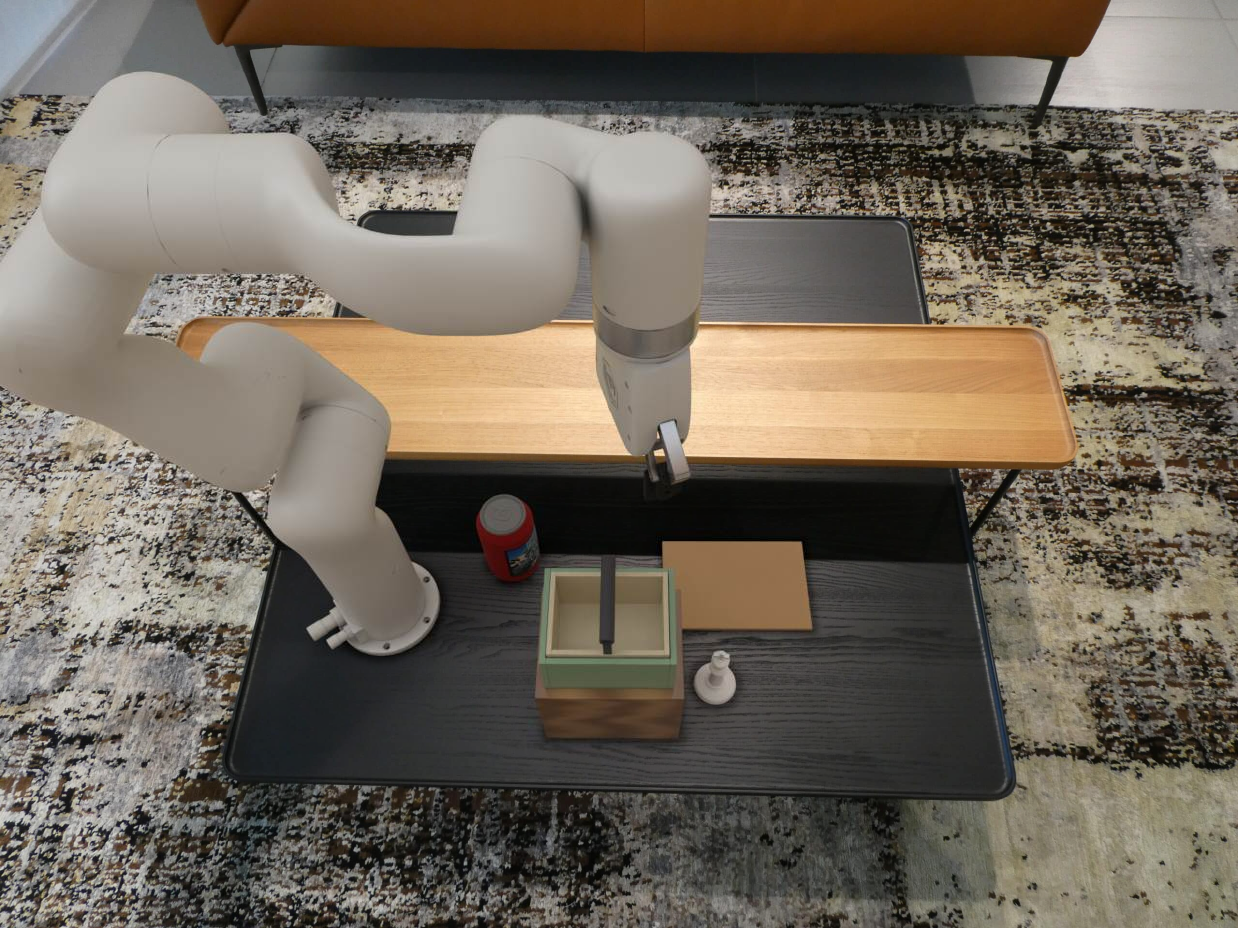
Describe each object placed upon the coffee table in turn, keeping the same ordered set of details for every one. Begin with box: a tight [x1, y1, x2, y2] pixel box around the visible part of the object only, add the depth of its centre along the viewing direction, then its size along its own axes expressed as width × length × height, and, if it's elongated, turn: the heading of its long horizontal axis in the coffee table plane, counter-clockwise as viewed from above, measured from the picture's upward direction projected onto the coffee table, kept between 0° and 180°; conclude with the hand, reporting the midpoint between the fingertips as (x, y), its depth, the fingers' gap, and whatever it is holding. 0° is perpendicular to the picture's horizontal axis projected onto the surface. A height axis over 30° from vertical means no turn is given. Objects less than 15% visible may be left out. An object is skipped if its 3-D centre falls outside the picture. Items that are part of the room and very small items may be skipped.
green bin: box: [539, 567, 677, 689], centre depth 84 cm, size 13×10×7 cm
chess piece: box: [693, 650, 737, 705], centre depth 95 cm, size 5×5×10 cm
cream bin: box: [546, 554, 670, 659], centre depth 82 cm, size 12×9×11 cm
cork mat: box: [661, 540, 813, 632], centre depth 106 cm, size 18×12×1 cm, turn 89°
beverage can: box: [475, 494, 541, 582], centre depth 103 cm, size 7×7×12 cm
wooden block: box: [534, 588, 685, 740], centre depth 93 cm, size 15×12×14 cm
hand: (643, 448), depth 73 cm, fingers open, 9 cm apart
